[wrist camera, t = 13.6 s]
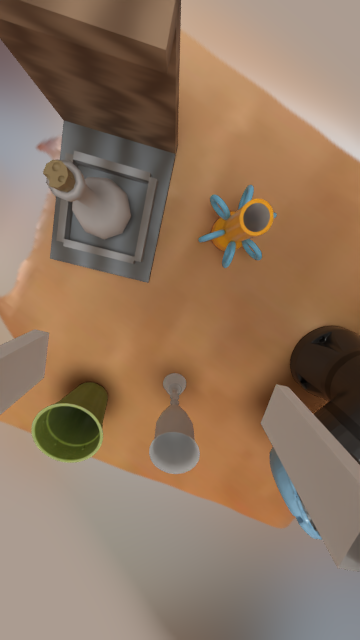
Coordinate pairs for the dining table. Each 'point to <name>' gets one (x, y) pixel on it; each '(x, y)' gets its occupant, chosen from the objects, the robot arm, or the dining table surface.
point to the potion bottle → (90, 198)
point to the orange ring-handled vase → (239, 225)
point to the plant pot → (72, 424)
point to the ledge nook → (106, 111)
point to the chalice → (174, 433)
